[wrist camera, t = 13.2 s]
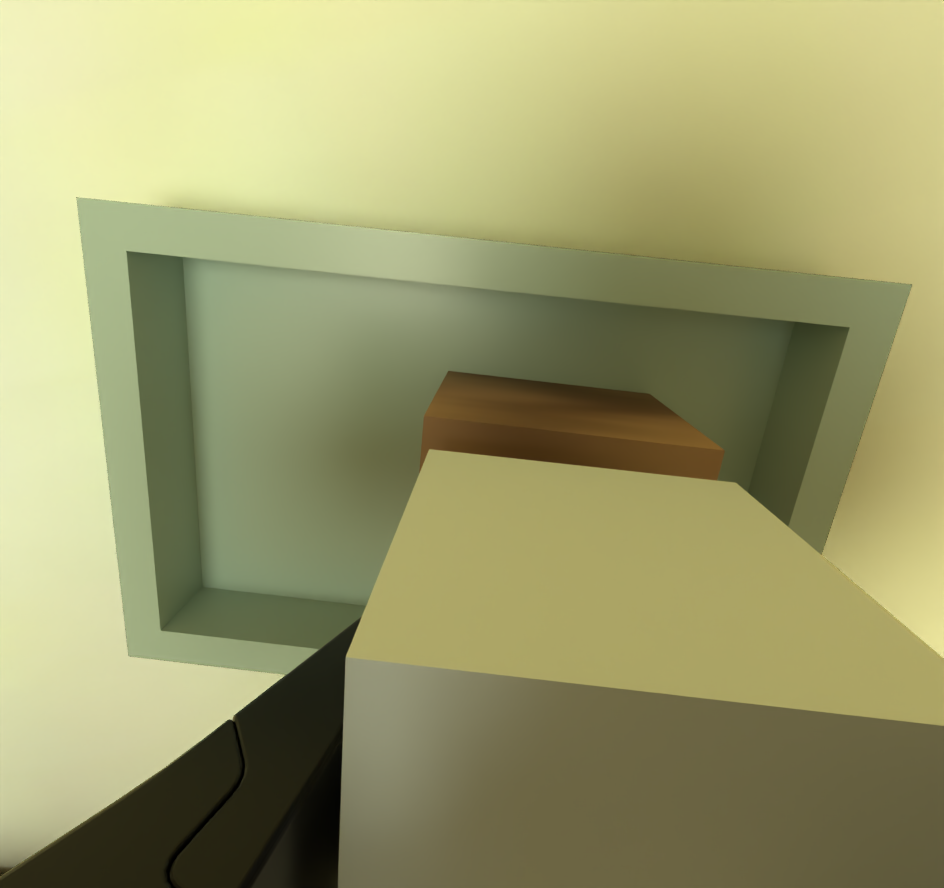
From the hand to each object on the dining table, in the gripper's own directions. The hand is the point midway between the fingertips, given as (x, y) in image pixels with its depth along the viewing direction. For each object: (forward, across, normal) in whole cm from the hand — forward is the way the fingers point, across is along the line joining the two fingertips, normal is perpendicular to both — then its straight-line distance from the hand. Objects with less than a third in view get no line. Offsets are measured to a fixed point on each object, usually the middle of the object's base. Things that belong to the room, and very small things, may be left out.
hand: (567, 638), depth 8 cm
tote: (+8, +2, 0) cm, 8 cm away
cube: (+1, 0, 0) cm, 1 cm away
